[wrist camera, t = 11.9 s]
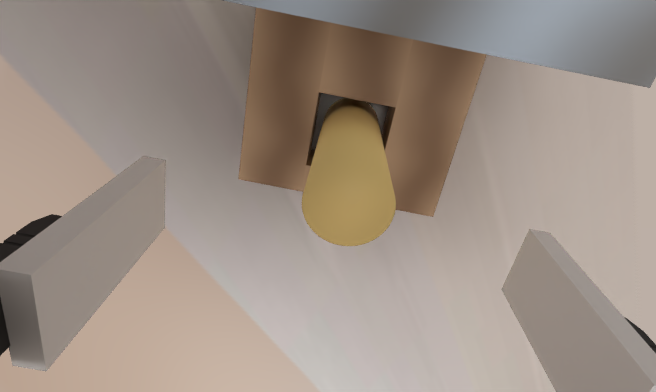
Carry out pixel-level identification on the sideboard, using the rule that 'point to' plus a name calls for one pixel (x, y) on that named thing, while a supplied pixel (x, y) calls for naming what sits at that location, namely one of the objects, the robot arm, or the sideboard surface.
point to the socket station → (416, 72)
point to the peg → (349, 177)
